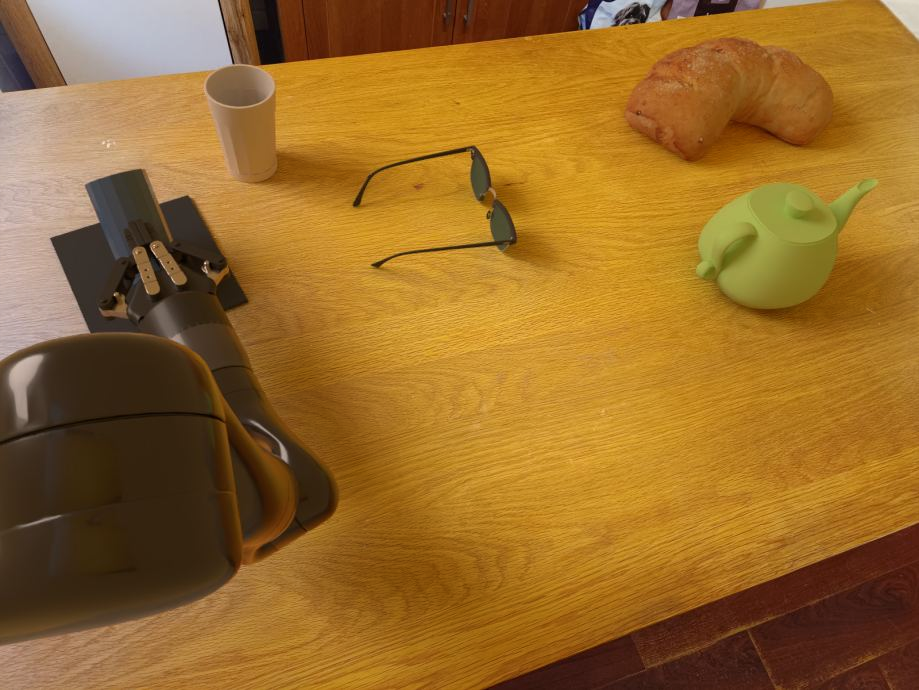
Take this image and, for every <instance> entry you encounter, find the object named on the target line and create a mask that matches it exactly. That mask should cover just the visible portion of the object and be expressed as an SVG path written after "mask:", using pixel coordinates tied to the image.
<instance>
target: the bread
mask: <svg viewBox="0 0 919 690" xmlns="http://www.w3.org/2000/svg"><path fill="white" fill-rule="evenodd" d="M833 105H834V93H833V91H832V88H831V86H830V84H829V82H828V81H827V80H826V79H825V78H824V76H823V75H822V74H821V73H820V72H818V71H817V70H816V69H814V68H812V66H810V64H805V63H804V62H803V60H802V59H801V58H800V57H799V56H798V55H797V54H795V53H794V52H793V51H791V50H789V49H787V48H785V47H782V46H780V45H766V46H761V45H760V44H759V43H758V42H756V41H754V40H751V39H748V38H742V37H740V36H738V37H735V36H734V37H732V36H731V37H716V38H711V39H710V38H709V39H706V40H703V41H700V42H698V43H696V44H694V45H693V46H686V47H682V48H679V49H675V50H674V51H671V52H670V53H668V54H666V55H665V56H663V57H662V58H660V59H658V61H656V62H655V63H654V64H653V65H652V66H651V67H650V69H649V70H648V71H647V72H646V75H645V76H644V79H642V80H640V81H639V82H637V84H636V85H635V86H634V87H633V88H632V91H631V93H630V95H629V97H628V100H627V102H626V105H625V108H624V118H625V120H626V121H627V123H628V124H629V126H630V127H631V128H633V129H634V130H636V131H639V132H640V133H642V134H645V135H646V136H647V137H649V138H651V139H653V140H654V141H656V142H658V143H660V144H661V145H663V146H664V147H665V148H667V149H668V150H669V151H670V152H671V153H673V154H676V155H678V156H679V157H680V158H681V159H682V160H683V161H686V162H697V161H699V160H700V159H702V158H703V157H704V156H705V155H706V153H707V152H708V151H709V150H710V149H711V148H712V147H713V146H715V143H716V142H717V141H718V140H719V138H720V137H721V135H723V132H724V131H725V129H726V127H727V125H728V124H729V122H730V121H735V122H739V123H744V124H748V125H751V126H753V127H756V128H759V129H761V130H763V131H764V132H766V133H767V134H768V135H771V136H773V137H775V138H776V139H778V140H781V141H783V142H785V143H787V144H791V145H794V146H804V145H806V144H809V143H811V142H812V141H813V140H815V139H816V137H817V136H819V134H820V133H821V132H823V131H825V130H826V129H827V128H828V127H829V125H830V123H831V122H832V119H833V116H834V112H833V110H834V109H833Z"/></svg>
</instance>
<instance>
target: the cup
mask: <svg viewBox="0 0 919 690" xmlns="http://www.w3.org/2000/svg"><path fill="white" fill-rule="evenodd" d="M276 84H277V83H276V81H275V78H274V77H273V76H272V74H270V73H269V72H268V71H267V70H265V69H263V68H261V67H259V66H256V65H251V64H246V63H245V64H244V63H237V64H236V63H233V64H228V65H224V66H221V67H218V68H216V69H215V70H213V71H212V72H210V73H209V74H208V75H207V76H206V78H205V80H204V82H203V92H204V94H205V98H206V101H207V104H208V108H209V111H210V115H211V117H212V121H213V124H214V128H215V131H216V134H217V137H218V141H219V144H220V149H221V151H222V155H223V158H224V162H225V166H226V171H227V173H228V174H229V175H230V177H232V178H233V179H235V180H237V181H239V182H243V183H247V184H251V183H253V184H254V183H260V182H264V181H266V180H268V179H269V178H272V177H273V176H274V175H275V173H276V172H277V170H278V165H279V164H278V156H277V138H276V137H277V136H276V135H277V134H276V133H277V132H276V110H277V102H276V101H277V99H276V98H277V97H276V96H277V93H276V92H277V85H276Z"/></svg>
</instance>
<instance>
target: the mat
mask: <svg viewBox="0 0 919 690" xmlns="http://www.w3.org/2000/svg"><path fill="white" fill-rule="evenodd" d="M159 206H160V208H161V211H162V213H163V216H164V218H165V221H166V224H167V226H168V229H169V231H170V234H171V236H172V239H173V240H175V239H179V240H182V241H185V242H188V243H190V244H193V245H196V246H198V247H201V248H204V249H206V250H209V251H212V252H214V253H217V254H220V255H222V256H224V255H223V254H222V252H221V250H220V249H219V246H218V245H217V243H216V241H215V239H214V238H213V236H212V234H211V233H210V232H211V231H209V229H208V227H207V225H206V224H205V222H204V220H203V218H202V217H201V215H200V213H199V211H198V209H197V208H196V206H195V205H194V202H193V201H192V199H191V197H190V195H189V194H185V195H183V196H180V197H176V198H173V199H171V200H170V199H169V200H167V201H164V202H160V203H159ZM49 240H50V242H51V244H52V247H53V249H54V251H55V254H56V257H57V258H58V261H59V263H60V266H61V268H62V270H63V272H64V275H65V277H66V280H67V282H68V284H69V287H70V289H71V291H72V293H73V296H74V298H75V301H76V303H77V305H78V309H79V310H80V312H81V315H82V317H83V320H84V322H85V324H86V327H87V329H88V331H89V333H98V332H135V333H141V332H140V330H139V329H138V328H136V327H134V326H133V325H132V324H131V323H130V322H129V319H127V318H121V317H117V318H116V319H115V320H113V321H107V320H105V319H104V317H103V315H102V313H101V311H100V309H99V306H98V304H97V299H98V297H99V295H100V293H101V291H102V289H103V286H104V284H105V282H106V280H107V278H108V276H109V274H110V272H111V270H112V268H113V266H114V264H115V262H116V261H115V258H114V256H113V253H112V251H111V248H110V246H109V244H108V241H107V239H106V236H105V234H104V232H103V229H102V227H101V224H100V222H97V223H93V224H90V225H87V226H83V227H81V228H77V229H74V230H71V231H67V232H64V233H61V234H58V235H55V236H50V238H49ZM183 267H185V266H183ZM185 268H188V267H185ZM228 268H229V273H230V277H229V278H228V279H227V280H221V281H220V282H219V283H218V285H217V290H218V300H219V302H220V304H221V306H222V308H223V309H224V311H225V312H226V311H227V310H230V309H232V308H233V309H234V308H236V307H238V306H240V305H243V304H244V305H245V304H246V303H248V302H249V300H248V298H247V296H246V294H245V293H244V291H243V289H242V287H241V285H240V283H239V282H238V280H237V278H236V276H235V275H234V273H233V271H232V269H231V268H230V266H229V265H228ZM188 269H190V270H192V271H195V272H197V273H200V274H202V275H203V273H201V272H199V271H196V270H193V269H191V268H188ZM135 286H136V284H135V285H132V286H131V288H130V290H129V292H128V295H127V297H126V300H127V303H129V301H130V298H131V296H132V294H133V291H134V289H135ZM127 305H128V304H127Z"/></svg>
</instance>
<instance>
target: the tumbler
mask: <svg viewBox="0 0 919 690" xmlns="http://www.w3.org/2000/svg"><path fill="white" fill-rule="evenodd" d="M84 188H85V191H86V193H87V195H88V198H89V200H90V202H91V205H92V208H93V209H94V212H95V215H96V217H97V219H98V223H100V224H101V227H102V229H103V232H104V234H105V236H106V239H107V241H108V244H109V246H110V248H111V251H112V253H113V256H114V258H115V261H116V260H117V259H118V258H120V257H126V258H127V257H129V256H130V255H131V253H132V252H131V250H130V248H129V246H128V244H127V241H126V239H125V236H124V229H127V228H128V225H127V223H129V222H132V221H134V222H135V220H138V219H142V221H143V223H146V222H149V223H151V224H152V225H153V227H154V229H155V231H156V233H157V235H158V237H159V239H160V241H161V242H163V243H171V242H172V241H173V239H172V236H171V234H170V231H169V229H168V226H167V224H166V221H165V218H164V216H163V213H162V211H161V208H160V206H159V204H160V203H159V200H158V198H157V196H156V192H155V191H154V188H153V185H152V183H151V181H150V178H149V175H148V173H147V171H146V169H145V168H137V169H136V168H135V169H130V170H126V171H120V172H117V173H114V174H110V175H106V176H103V177H100V178H97V179H94V180H92V181H88V182H87V183H85V184H84ZM150 258H151V257H150ZM150 262H151V266H152V268H153V271H154V272H158V271H160V269H159V268H158V266H157V265H156V263H155V260H154V258H151V259H150ZM175 262H176V261H175ZM177 265H178V266H181V267H183V265H180V264H178V263H177ZM140 279H142V278H141V275H140V273H138V274H137V275H135V280H134V282H133V284H132V285H135V284H137V282H138V281H139V280H140Z"/></svg>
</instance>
